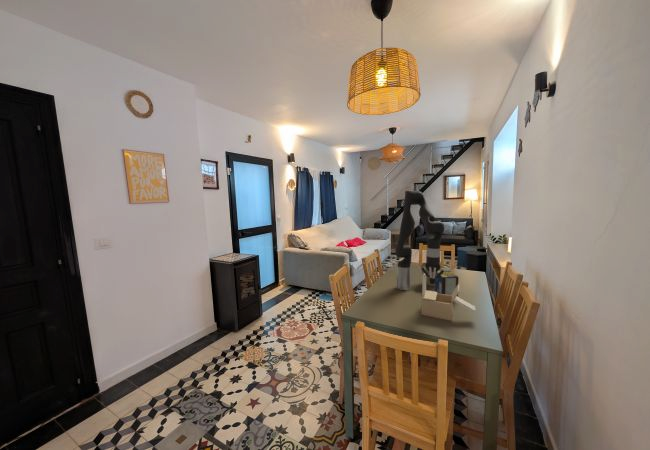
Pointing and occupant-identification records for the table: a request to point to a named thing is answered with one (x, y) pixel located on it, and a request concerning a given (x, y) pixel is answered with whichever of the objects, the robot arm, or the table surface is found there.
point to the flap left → (427, 294)
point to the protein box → (446, 283)
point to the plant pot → (426, 276)
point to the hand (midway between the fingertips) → (432, 283)
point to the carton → (438, 307)
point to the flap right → (460, 301)
